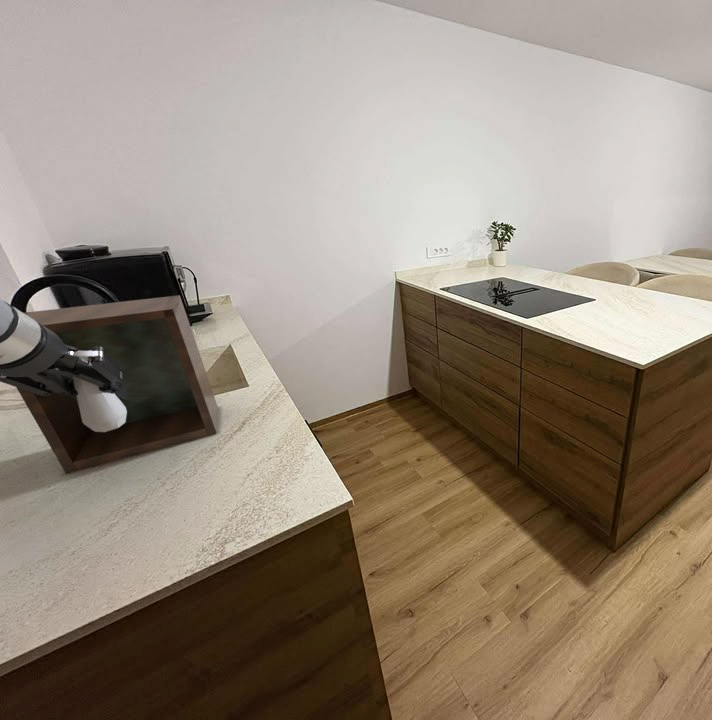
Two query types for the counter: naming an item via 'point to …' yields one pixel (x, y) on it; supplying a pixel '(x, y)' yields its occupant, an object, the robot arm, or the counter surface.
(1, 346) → the robot arm
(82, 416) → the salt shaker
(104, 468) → the counter surface
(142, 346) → the brown wooden box
